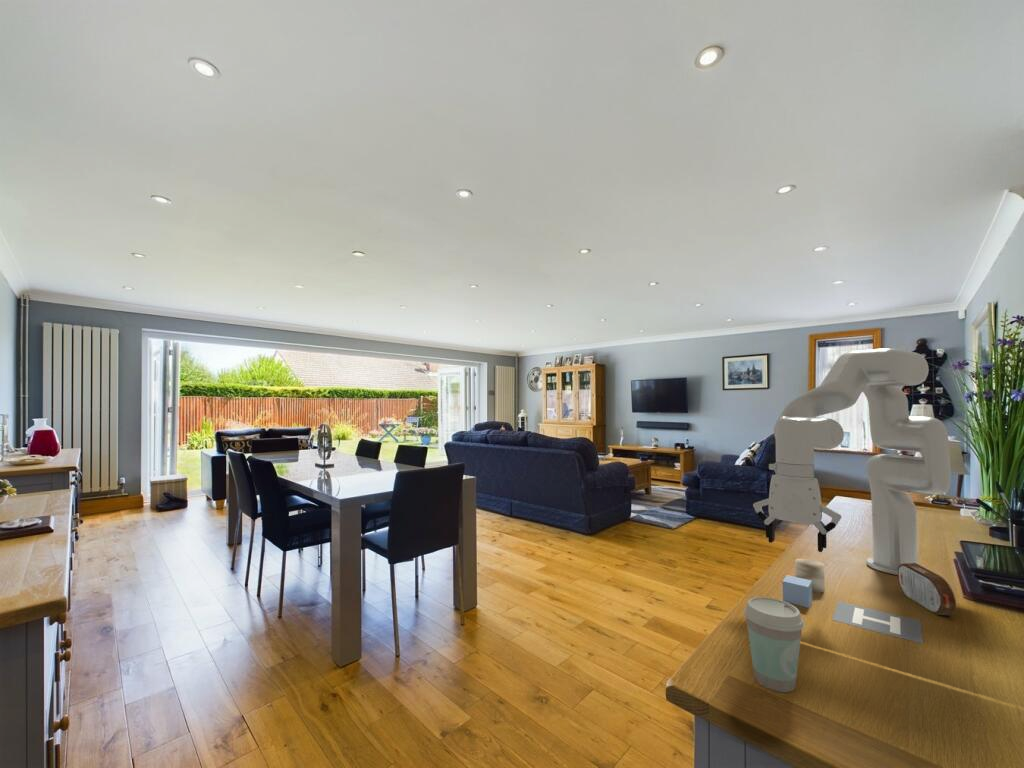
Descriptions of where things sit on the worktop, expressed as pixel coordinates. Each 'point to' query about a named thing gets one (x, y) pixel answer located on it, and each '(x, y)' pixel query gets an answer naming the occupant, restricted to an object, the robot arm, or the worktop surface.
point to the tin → (926, 589)
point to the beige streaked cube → (811, 573)
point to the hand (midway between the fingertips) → (795, 545)
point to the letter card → (879, 621)
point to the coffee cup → (774, 641)
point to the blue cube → (797, 591)
